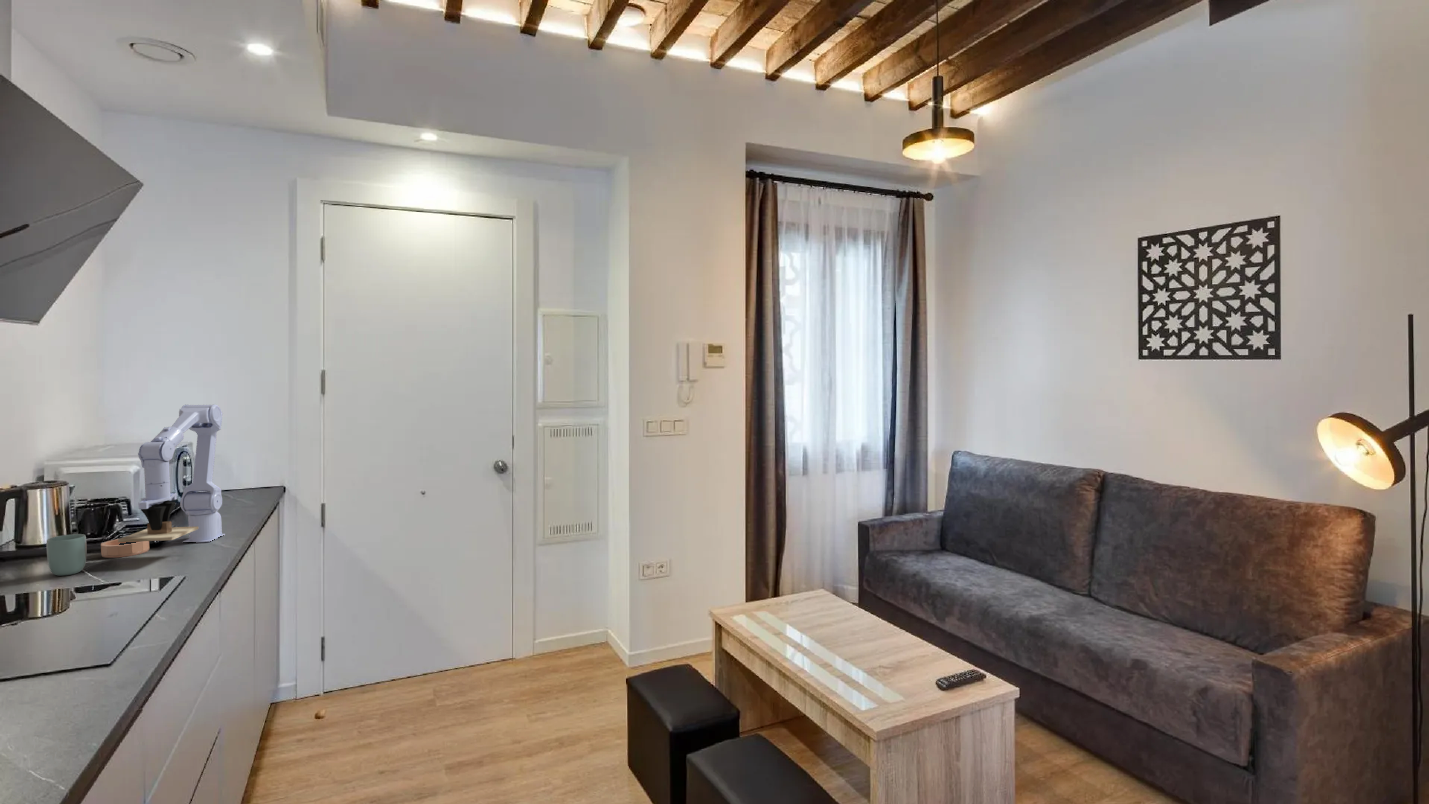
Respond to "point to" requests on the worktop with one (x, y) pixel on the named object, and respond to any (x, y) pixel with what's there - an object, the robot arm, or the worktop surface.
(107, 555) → the dish
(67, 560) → the cup
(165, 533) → the lid
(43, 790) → the worktop surface
